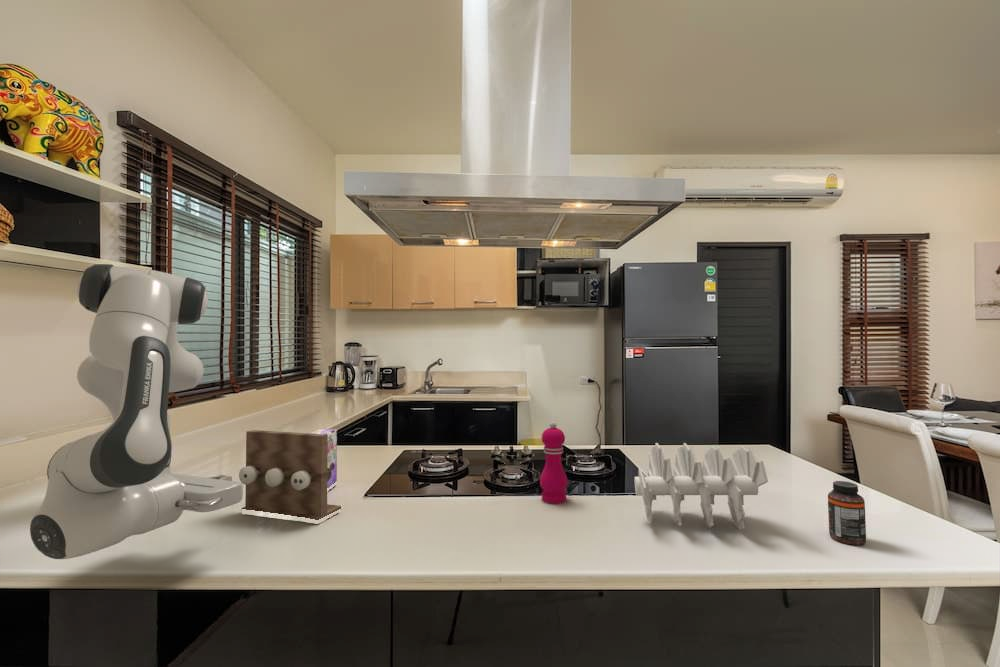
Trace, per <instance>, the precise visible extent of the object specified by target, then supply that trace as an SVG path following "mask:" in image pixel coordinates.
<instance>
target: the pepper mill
mask: <svg viewBox="0 0 1000 667" xmlns="http://www.w3.org/2000/svg"><path fill="white" fill-rule="evenodd" d="M565 440H566V436H565V433H564V432H563V430H561V429H560V428H558V427H557V423H556V422H555V421H551V422H550V423H549V427H548V428H546V429H545V430H543V432H542V434H541V441H542V443H543V445H544V446H543V453H544V454H545V464H544V468H543V470H542V471H541V473H540V474H541V475H540V478H539V485H540V487H541V489H542V492H541V500H542V501H543V502H544V503H548V504H562V503H565V502H566V501H567V493H566V492H565V490H566V489H567V488H568V485H569V482H568V477H567V474H566V471H565V470H564V467H563V464H562V454H563V453H564V450H563V449H564V447H563V444H564V443H565Z"/></svg>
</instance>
